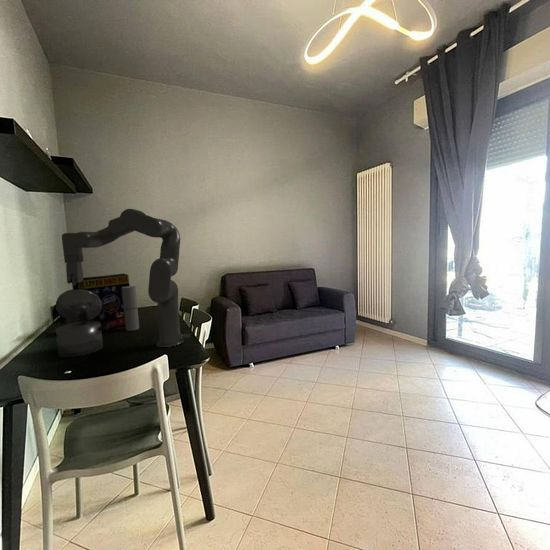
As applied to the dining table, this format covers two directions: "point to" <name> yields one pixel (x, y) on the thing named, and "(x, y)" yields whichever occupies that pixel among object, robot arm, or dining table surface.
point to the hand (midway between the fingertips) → (78, 297)
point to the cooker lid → (78, 305)
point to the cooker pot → (78, 338)
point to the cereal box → (108, 297)
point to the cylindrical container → (130, 308)
